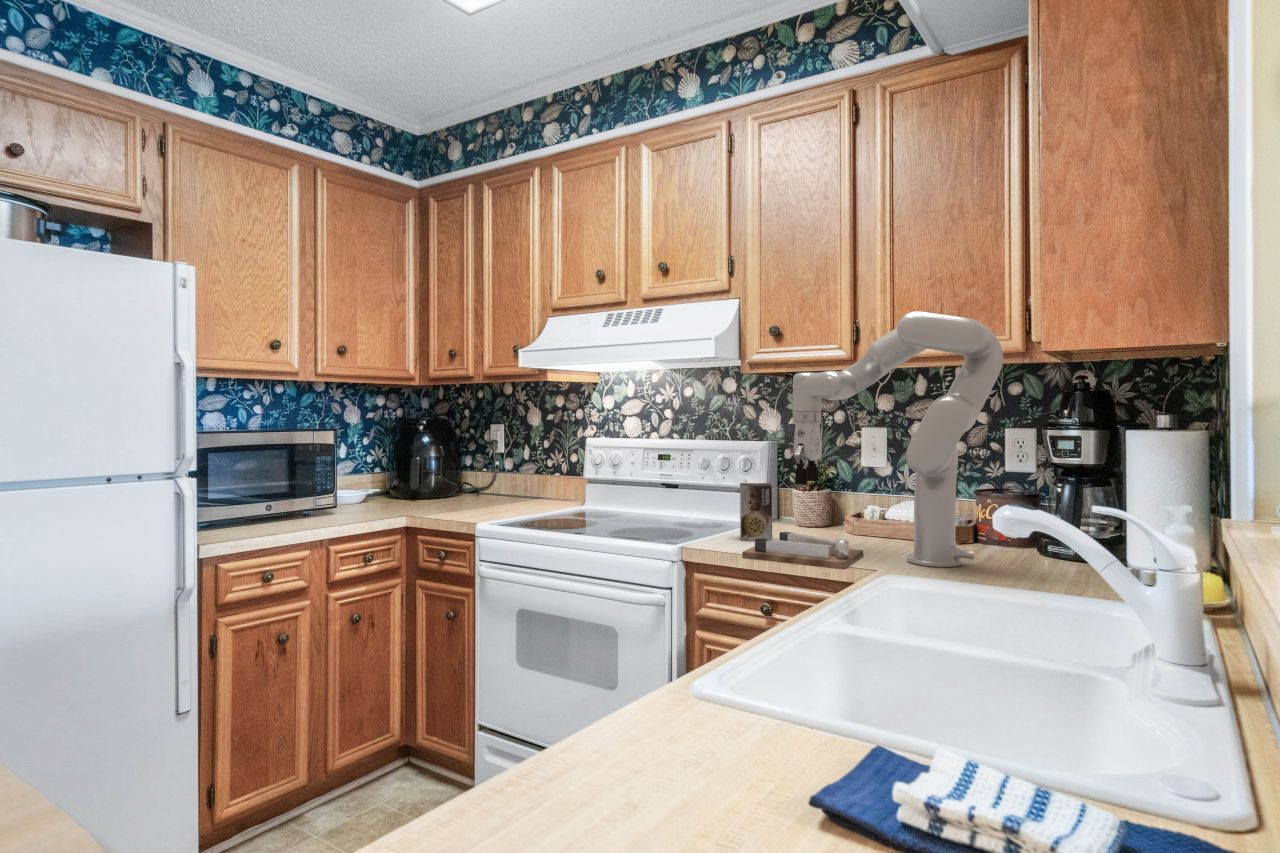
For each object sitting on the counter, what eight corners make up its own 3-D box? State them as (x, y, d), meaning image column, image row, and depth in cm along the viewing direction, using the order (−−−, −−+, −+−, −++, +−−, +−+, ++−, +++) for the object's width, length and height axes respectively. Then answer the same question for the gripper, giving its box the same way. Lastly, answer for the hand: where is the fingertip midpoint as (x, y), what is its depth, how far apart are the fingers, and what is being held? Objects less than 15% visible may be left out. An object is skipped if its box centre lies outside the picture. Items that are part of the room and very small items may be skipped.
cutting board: (863, 556, 193) (863, 550, 192) (844, 569, 177) (844, 562, 177) (767, 546, 206) (767, 540, 206) (742, 557, 190) (742, 551, 190)
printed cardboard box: (770, 537, 220) (771, 482, 219) (772, 541, 213) (772, 485, 213) (739, 536, 221) (739, 482, 220) (740, 540, 214) (740, 484, 214)
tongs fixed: (849, 557, 183) (849, 539, 183) (845, 561, 179) (845, 542, 179) (760, 548, 194) (761, 531, 194) (754, 551, 191) (754, 534, 191)
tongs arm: (841, 554, 186) (841, 542, 186) (835, 555, 185) (835, 543, 184) (785, 542, 202) (785, 531, 201) (779, 543, 200) (779, 532, 200)
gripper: (810, 418, 193) (810, 486, 193) (829, 418, 208) (829, 480, 208) (782, 418, 197) (782, 484, 197) (803, 417, 212) (803, 479, 212)
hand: (806, 482), depth 203 cm, fingers open, 8 cm apart
